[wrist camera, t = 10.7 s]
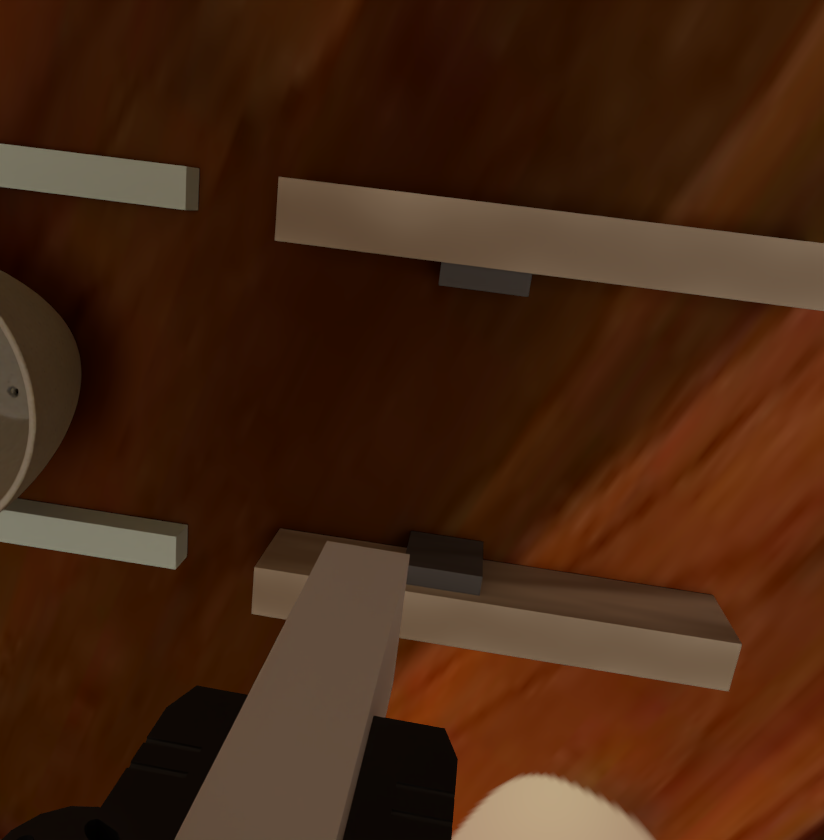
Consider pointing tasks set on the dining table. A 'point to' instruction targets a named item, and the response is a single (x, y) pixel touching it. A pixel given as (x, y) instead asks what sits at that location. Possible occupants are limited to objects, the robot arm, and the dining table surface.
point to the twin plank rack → (511, 274)
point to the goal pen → (120, 184)
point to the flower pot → (32, 385)
